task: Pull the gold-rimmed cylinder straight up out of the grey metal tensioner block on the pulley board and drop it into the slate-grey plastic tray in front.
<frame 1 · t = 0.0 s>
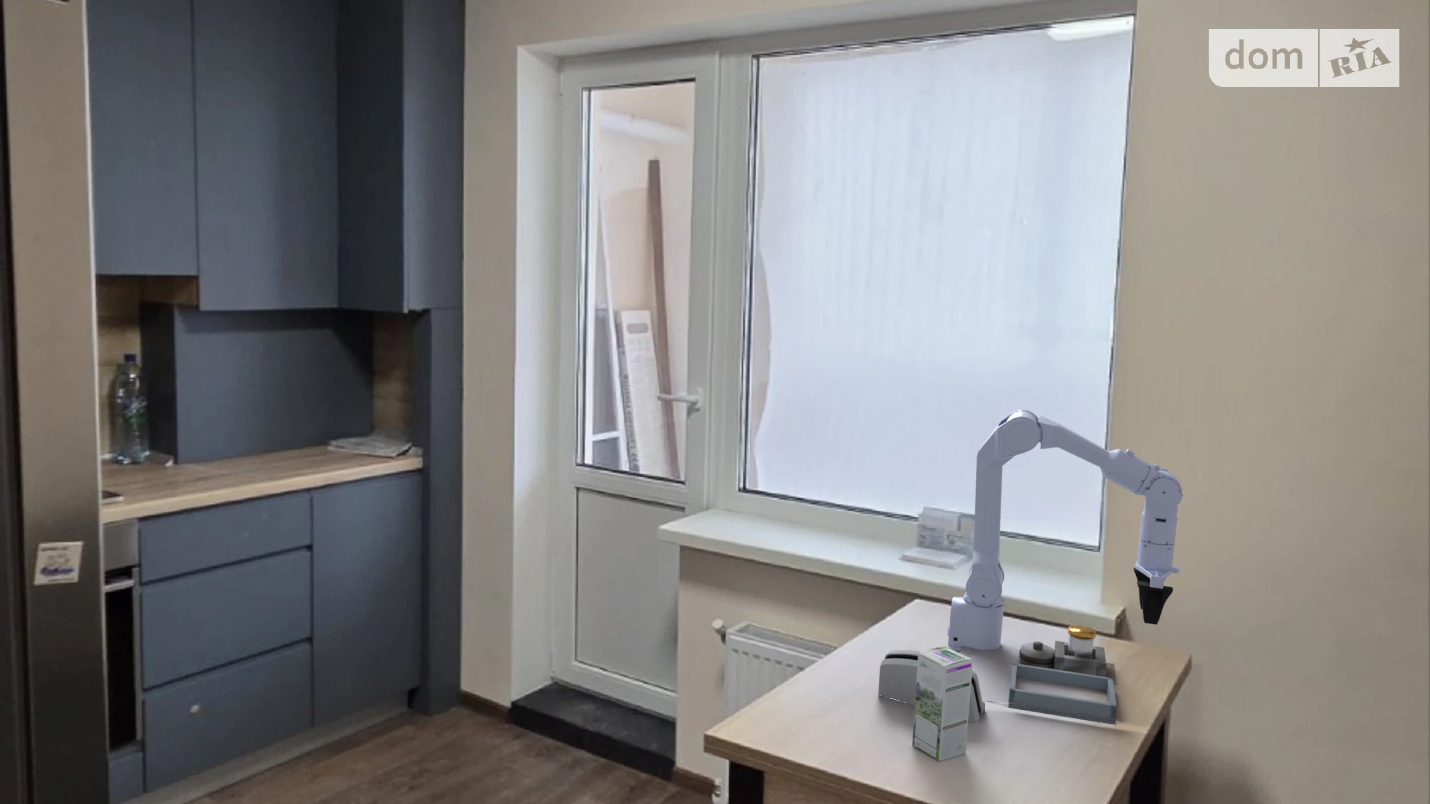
hand: (1148, 616, 189), 10 cm above the table, tool pointing down, fingers open, 7 cm apart
tray: (1060, 701, 176), on the table
gold-rimmed cylinder: (1078, 668, 187), point 1 cm above the table, touching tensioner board
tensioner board: (1065, 672, 188), on the table
syrup box: (938, 751, 156), on the table
grey toaster: (928, 708, 171), on the table
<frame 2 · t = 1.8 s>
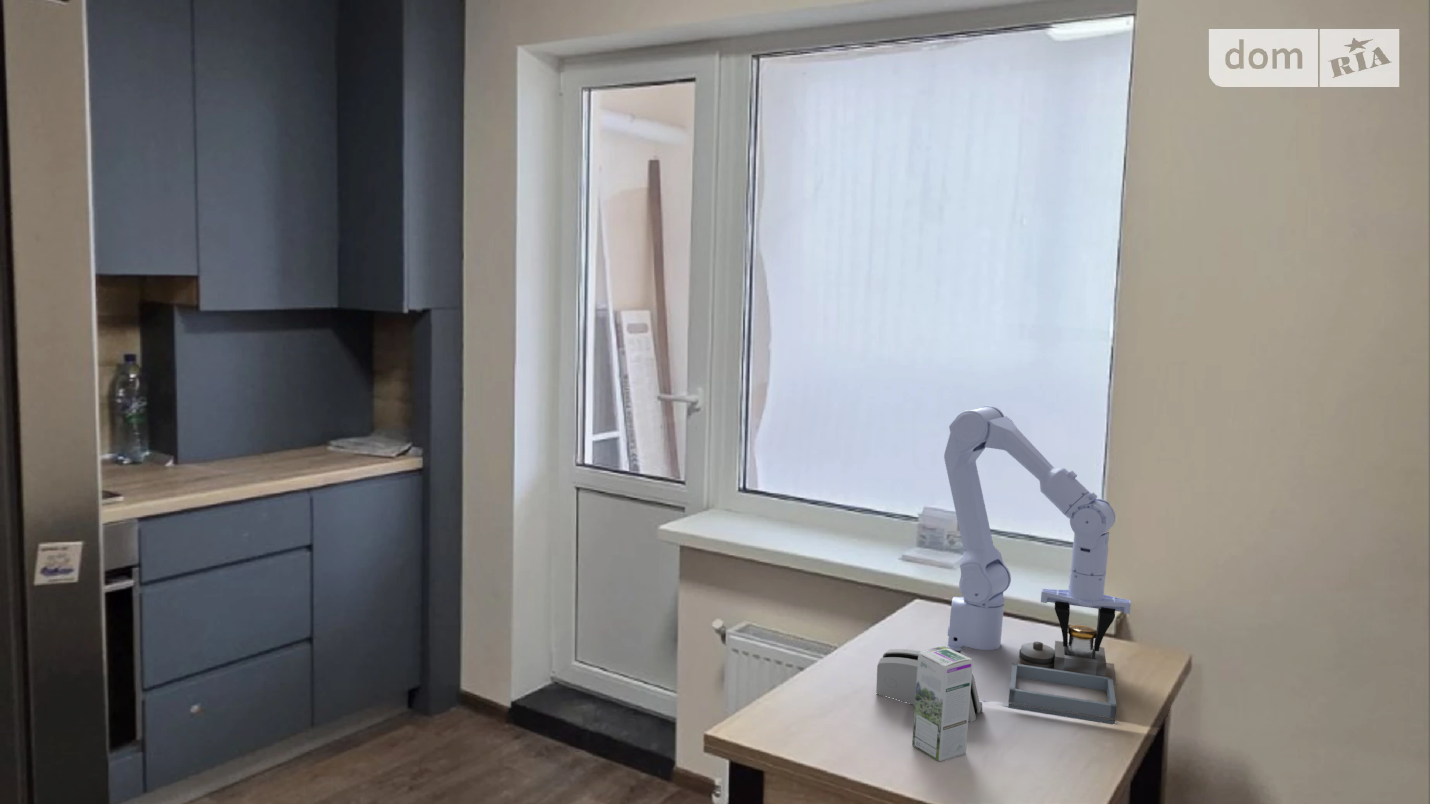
hand: (1080, 647, 187), 5 cm above the table, tool pointing down, fingers closed on gold-rimmed cylinder, 4 cm apart
gold-rimmed cylinder: (1078, 668, 187), point 1 cm above the table, touching gripper, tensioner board
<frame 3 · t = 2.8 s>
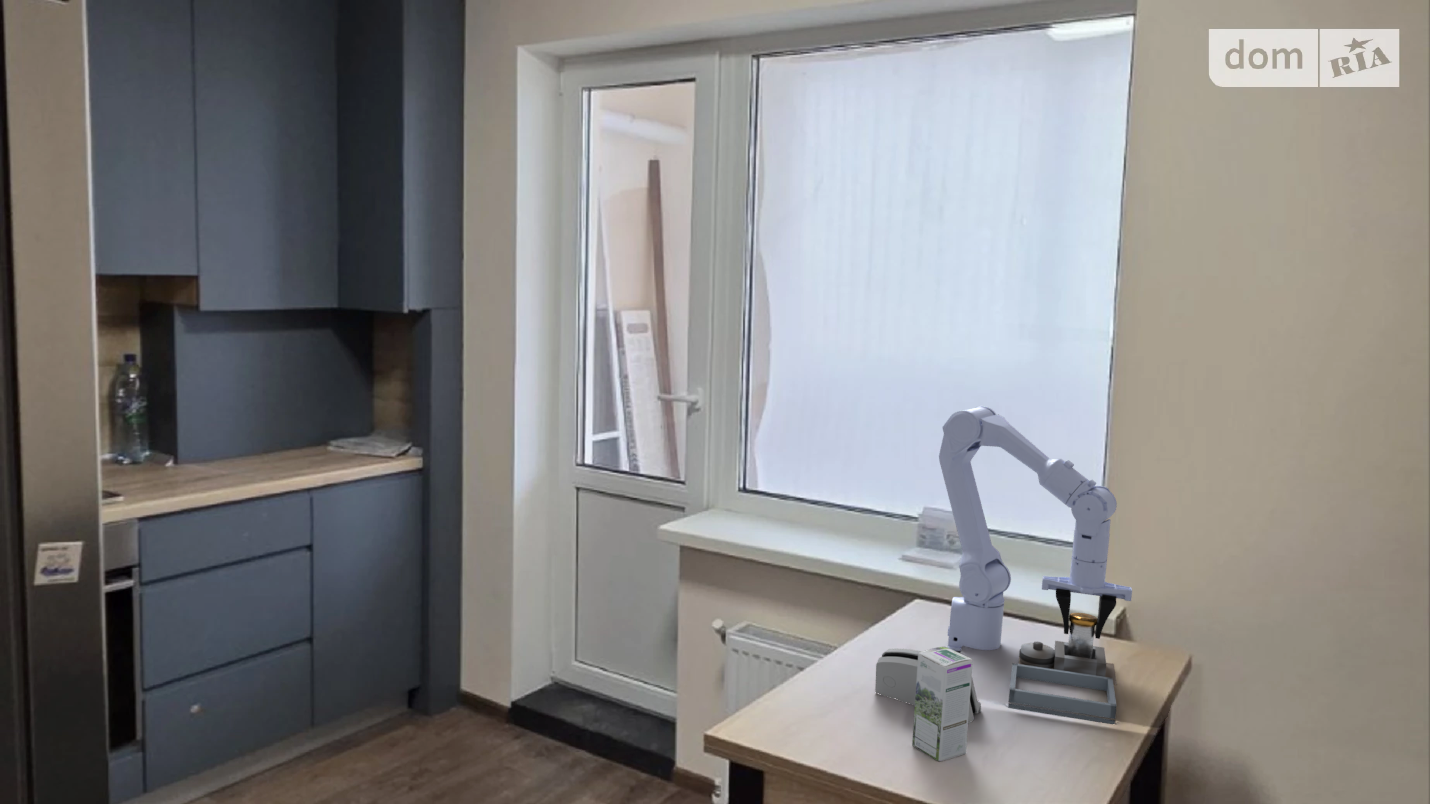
hand: (1081, 634, 186), 7 cm above the table, tool pointing down, fingers closed on gold-rimmed cylinder, 4 cm apart
gold-rimmed cylinder: (1079, 656, 187), point 3 cm above the table, touching gripper
everything else where it was.
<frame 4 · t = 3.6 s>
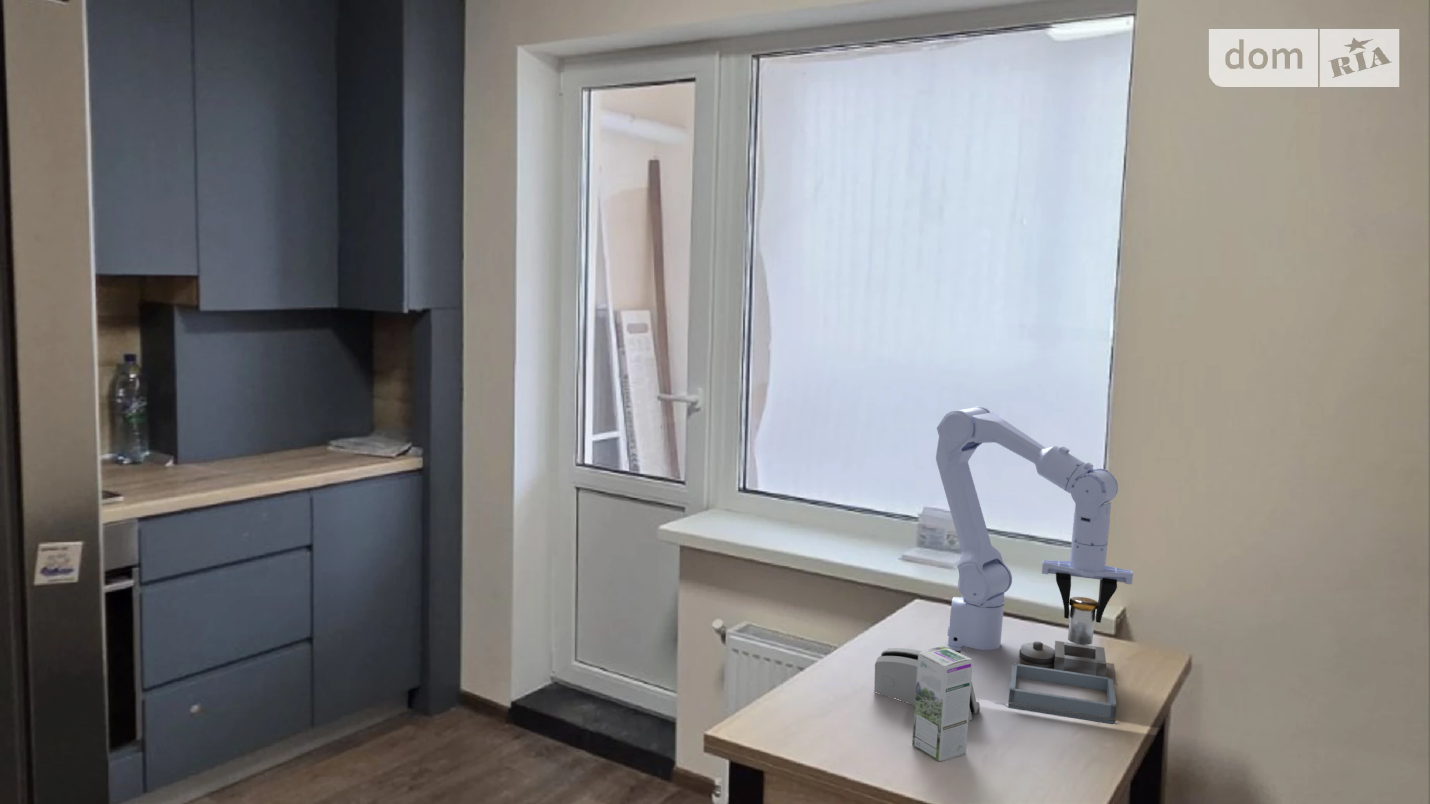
hand: (1082, 618, 185), 10 cm above the table, tool pointing down, fingers closed on gold-rimmed cylinder, 4 cm apart
gold-rimmed cylinder: (1080, 640, 185), point 7 cm above the table, touching gripper
everything else where it was.
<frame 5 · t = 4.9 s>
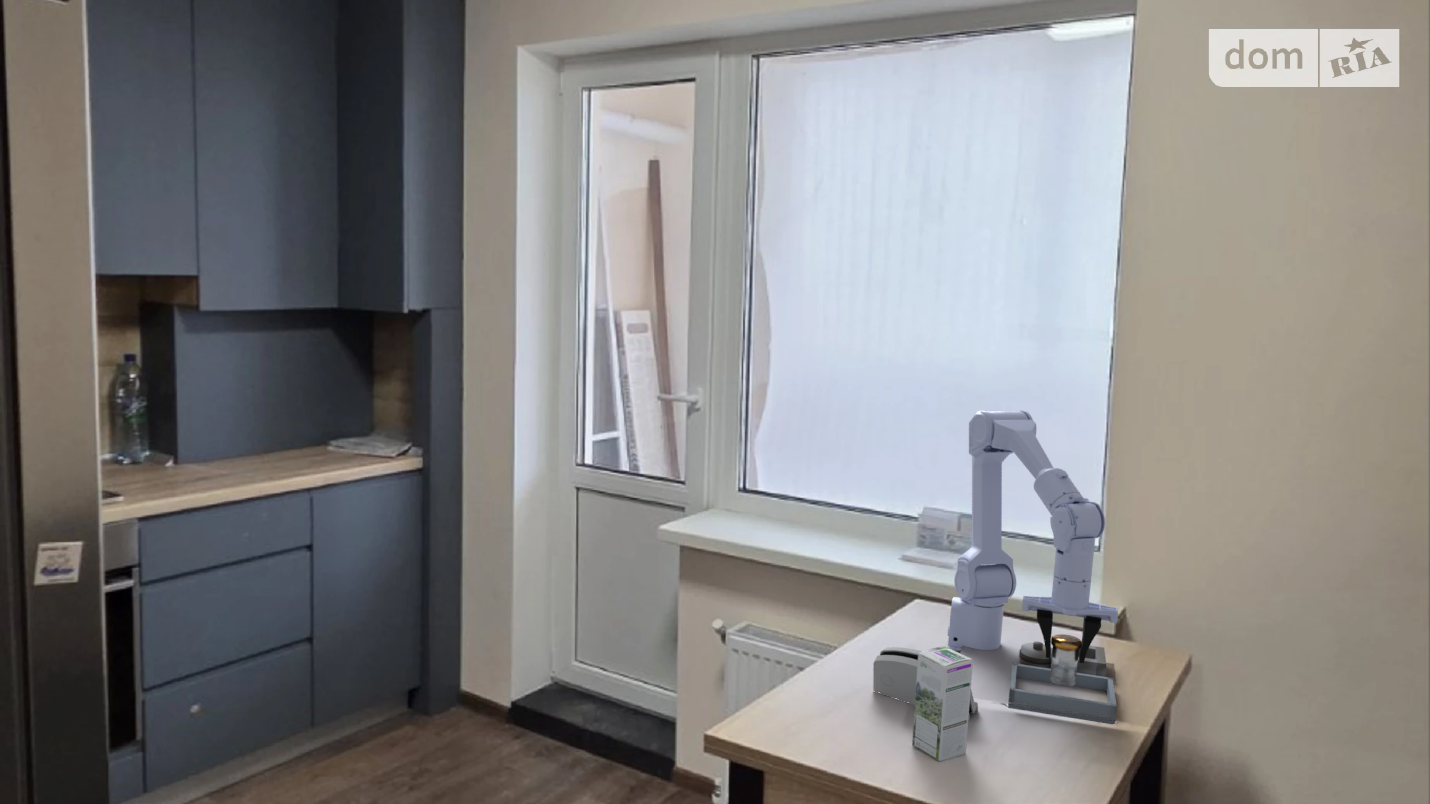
hand: (1064, 658, 174), 7 cm above the table, tool pointing down, fingers closed on gold-rimmed cylinder, 4 cm apart
gold-rimmed cylinder: (1062, 680, 175), point 3 cm above the table, touching gripper
when the fingers open (6 cm above the table, at t = 5.6 s): gold-rimmed cylinder drops 1 cm, resting on tray.
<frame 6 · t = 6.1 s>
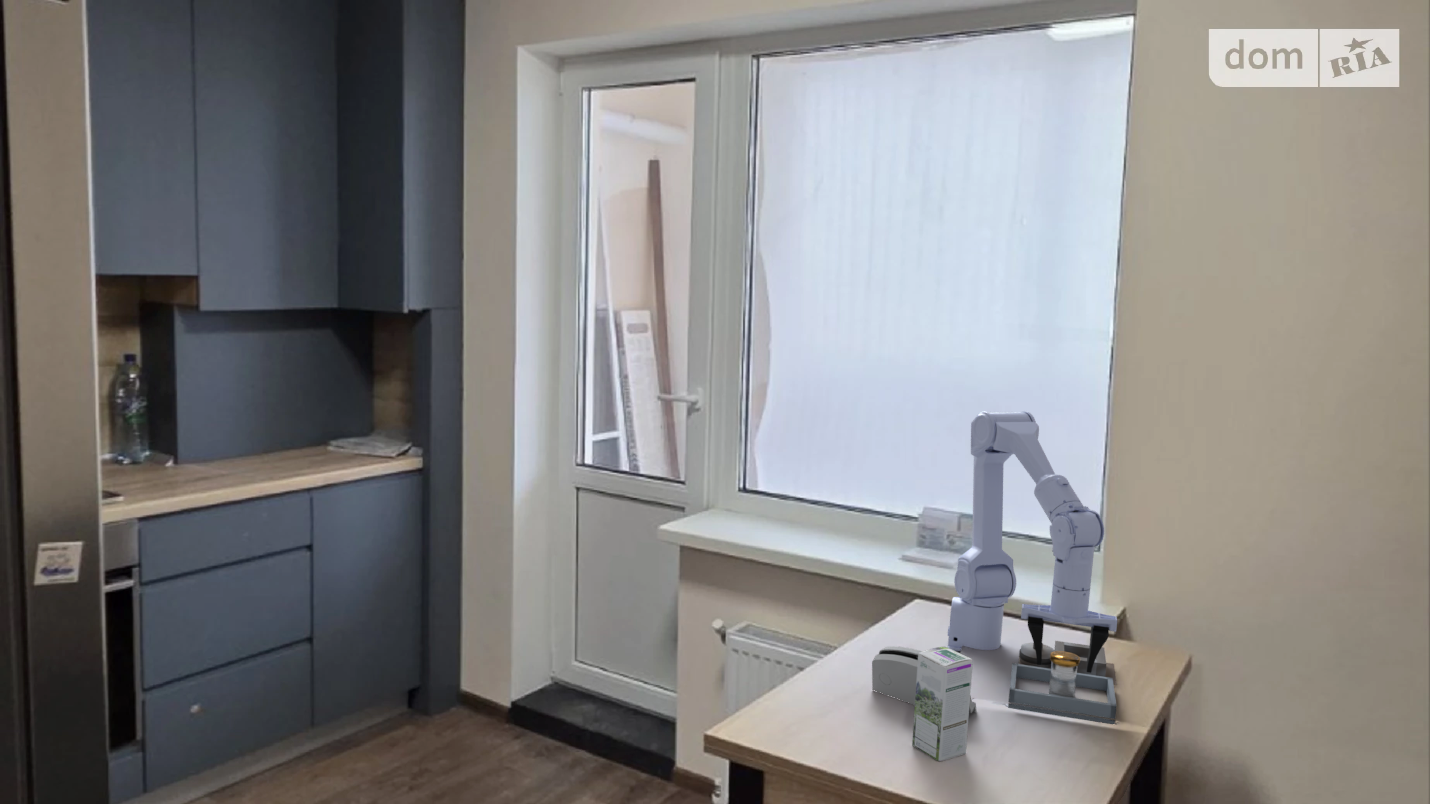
hand: (1063, 666, 175), 6 cm above the table, tool pointing down, fingers open, 7 cm apart
gold-rimmed cylinder: (1061, 697, 176), point 1 cm above the table, touching tray
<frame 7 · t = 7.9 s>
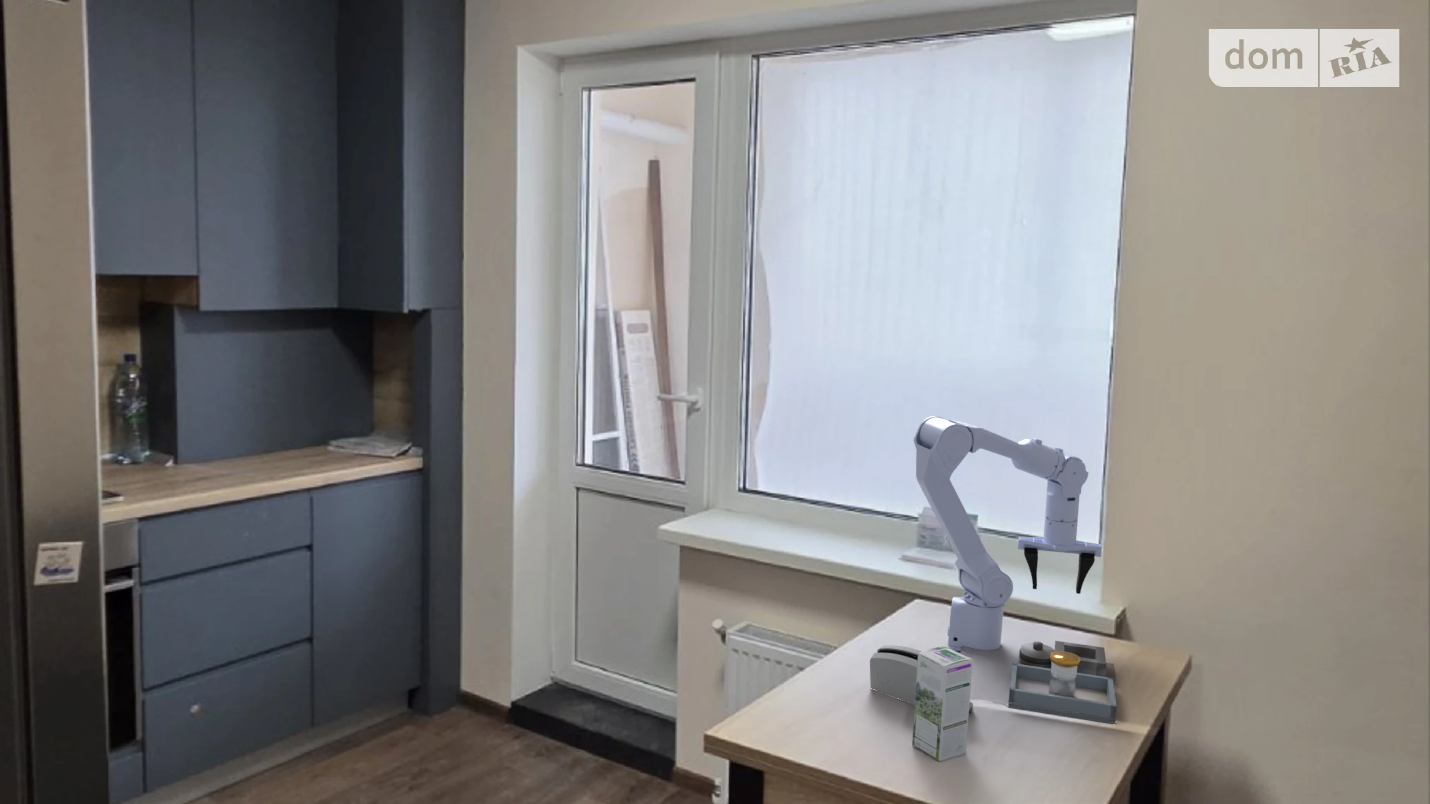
hand: (1056, 589, 200), 10 cm above the table, tool pointing down, fingers open, 7 cm apart
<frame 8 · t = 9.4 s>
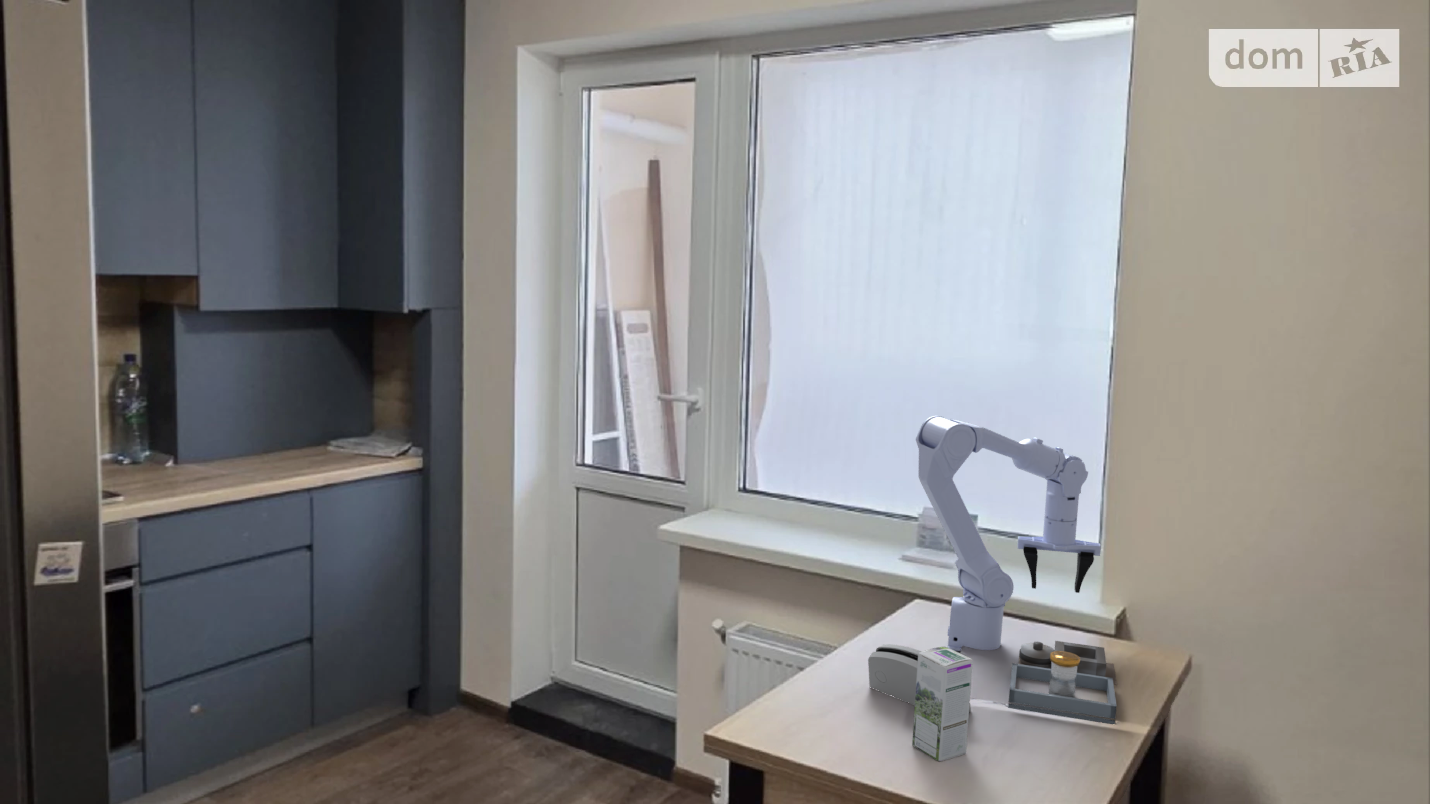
hand: (1055, 589, 201), 10 cm above the table, tool pointing down, fingers open, 7 cm apart
at the end: gold-rimmed cylinder inside the target area on the tray (0.4 cm from its centre), point 0.5 cm above the tray's base; gold-rimmed cylinder moved 13.4 cm from its start; the gripper is holding nothing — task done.
